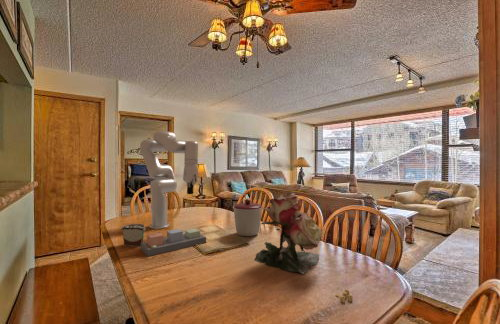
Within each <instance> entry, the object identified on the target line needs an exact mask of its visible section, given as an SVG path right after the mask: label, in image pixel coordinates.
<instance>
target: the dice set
mask: <svg viewBox="0 0 500 324" xmlns="http://www.w3.org/2000/svg"><path fill="white" fill-rule="evenodd" d="M335 297H337V298H339V299H340V300H339V301H340V302H341V303H343V304H344V303H346V298H347V301H349V302H353V295H352V294H350V289H344V291H342V294H341V295H340V294H338V293H336V294H335Z"/></svg>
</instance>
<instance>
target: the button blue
mask: <svg viewBox="0 0 500 324" xmlns="http://www.w3.org/2000/svg"><path fill="white" fill-rule="evenodd" d="M183 234H184V232H183V230H180V229H179V228H177V229H176V228H175V229H171V230H166V238H167V241H168V242H170V243H174V242H178V241H183Z"/></svg>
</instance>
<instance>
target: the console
mask: <svg viewBox="0 0 500 324" xmlns="http://www.w3.org/2000/svg"><path fill="white" fill-rule="evenodd" d="M204 242H206V243H207V236H205V235H203V234H201V233H200V237H197V238H192V239H188V238H187V237H185V233H183V241H178V242H174V243H170V242H168V241H167V237H163V245H160V246H156V245H153V246H151V248H150V247H149V246H148V245H147V241H145V242H144V241H143V243H141V246H140V250H141V251H142V252H143V253H144V254H145V255H146V256H147V257H152V256H156V255H159V254H160V255H161V254H165V253H169V252H173V251H176V250H180V249H186V248H190V247H193V246H197V245H196V244H198V245H201V244H200V243H202V244H205V243H204Z"/></svg>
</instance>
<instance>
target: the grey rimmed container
mask: <svg viewBox="0 0 500 324" xmlns="http://www.w3.org/2000/svg"><path fill="white" fill-rule="evenodd" d="M121 231H122V239H123V246H124V247H141V243H143V242H144V237H145V231H146V226H145V224H144V223H133V224H131V223H130V224H126V225H122V226H121Z"/></svg>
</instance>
